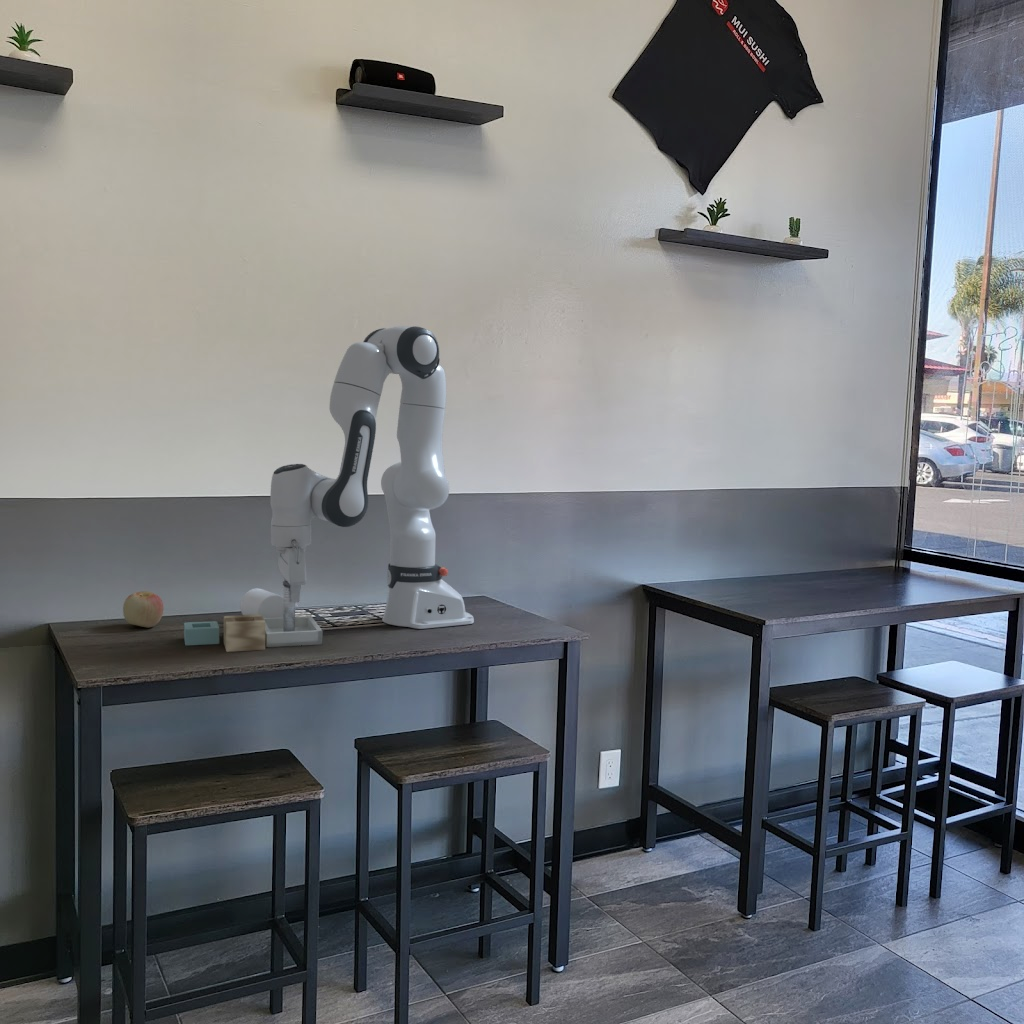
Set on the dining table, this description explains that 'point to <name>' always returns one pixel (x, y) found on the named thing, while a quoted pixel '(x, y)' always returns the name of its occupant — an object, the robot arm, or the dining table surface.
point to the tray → (292, 632)
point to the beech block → (244, 633)
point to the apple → (143, 609)
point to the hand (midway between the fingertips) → (292, 597)
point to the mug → (263, 604)
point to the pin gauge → (288, 609)
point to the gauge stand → (201, 633)
